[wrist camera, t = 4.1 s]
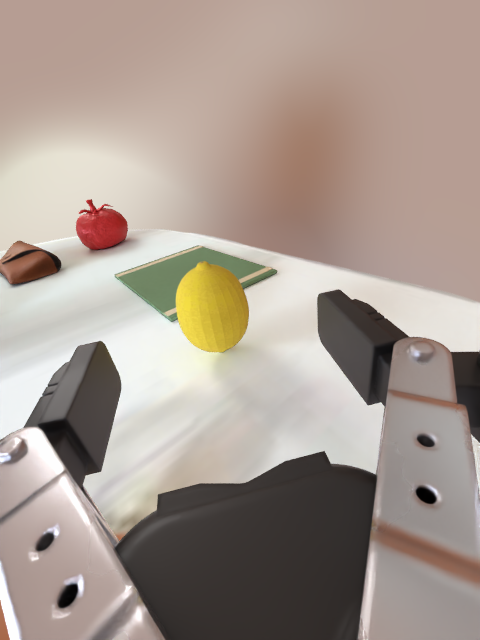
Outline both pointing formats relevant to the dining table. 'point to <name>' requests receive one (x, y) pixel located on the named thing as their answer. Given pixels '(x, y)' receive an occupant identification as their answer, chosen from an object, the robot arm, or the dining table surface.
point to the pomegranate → (101, 227)
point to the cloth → (166, 273)
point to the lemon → (212, 308)
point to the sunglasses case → (27, 263)
